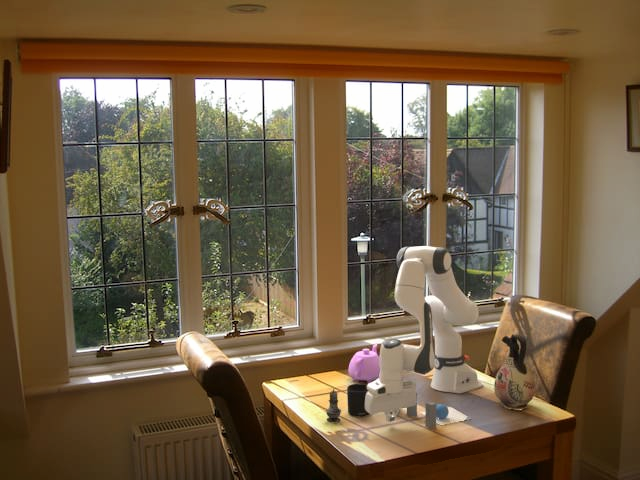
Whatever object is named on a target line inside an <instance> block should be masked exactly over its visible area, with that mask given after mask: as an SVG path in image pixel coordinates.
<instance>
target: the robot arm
mask: <svg viewBox="0 0 640 480" xmlns="http://www.w3.org/2000/svg"><path fill="white" fill-rule="evenodd" d="M452 260H453V259H452V254H451V252H450V251H449V250H448V249H447V248H444V247H441V246H438V247H436V246H430V245H429V246H428V245H422V246H421V245H420V246H404V247H402V248H400V249H399V251H398V252H397V255H396V265H397V269H398V272H397V277H396V281H395V287H394V301H395V302H396V305H397V306H398V307H399V308H400V309H402V310H403V311H405V312H407V313H408V314H410V315H411V316H413V317H415V318H416V319H417V320H418V323H419V334H420V336H419V337H420V338H419V340H420V345H413V344H406V343H403V342H402V341H401V340H400V339H398V338H388V339H385V340H384V341H382V342H381V344H380V348H379V349H380V350H379V366H380V374H379V378H378V379H376V380H372V381H373V382H371V383H369V384H366V385H367V390H368V392H367V393H366V396H365V410H366V411H367V412H368V413H370V414H369V415H373V414H379V413H384V415H385V416H386V422H387V423H391V422H396V421H397V420H396V419H397V416H398V414H399V411H400V410H399V409H405V408H406V409H407V407H412V406H415V405H416V403H417V404H418V397H417V398H416V393H417V392H416V389H417V385H416V383H415V382H413V381H412V380H411V381H409V380H408V381H404V378H405V376H404V373H403V372H404V371H406V372H413V373H416V374H419V375H422V376H423V375H424V376H425V375H426V374H429V373H431V371H433V375H432V380H431V383H430V387H431V388H432V389H433V390H436V391H440V392H445V393H455V394H463V393H467V392H470V391H473V390H477V389H480V388H483V387H484V384H483V383H482V381H480V380H479V379H478V374H477V371H476V370H475V369H474V368H472V367H471V366H470V365H469V364H467V363H466V362H468V361H470V359H471V358H470V356H468V355H464V354H462V348H463V347H462V345H463V344H462V341H463V340H462V339H463V338H462V336H461V335H460V333H459V332H458V331H456V330H455V328H454V327H453V325H456V326H457V325H458V326H472V325H474V324H475V323H476V321H478V319H479V314H480V313H479V307H478V305H477V304H476V302H474V301H473V300H472V299H469V298H468V297H467V296H466V295H465V294H464V293H463V291H462V290H461V289H460V287H459V286H458V284H457V282H456V279H455V274H454V272H453V269H452ZM426 283H427V285H428V286H427V287H428V289H429V292H430V293H431V294H432V295H426V296H425V289H426V288H425V287H426ZM465 361H466V362H465ZM391 410H393V412H390V411H391ZM398 410H399V411H398ZM390 413H391V414H390Z"/></svg>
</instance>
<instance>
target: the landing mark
mask: <svg viewBox="0 0 640 480" xmlns="http://www.w3.org/2000/svg"><path fill="white" fill-rule="evenodd" d="M447 408H448V410H449V413H448V416H447V417H446V418H444V419H438V418H437V417H436V425H437V424H438V425H439V426H440V425H442V426H446V425H445V424H447V425H451V424H450V423H451V422H452V421H453V423H452V424H455V423H454V422H456V421H457V423H460V422H459V421H462V422H465V421H464V420H465V419H466V418H467V417H468V416H467V415H466V414H464V413H462V412H460V411H459V410H456V409H455V408H453V407H452V406H447ZM425 412H426V410H424V411H419V413H420V414H421V415H422V416H424V417H425ZM450 420H451V421H450Z"/></svg>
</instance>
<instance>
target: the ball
mask: <svg viewBox="0 0 640 480" xmlns="http://www.w3.org/2000/svg"><path fill="white" fill-rule="evenodd" d="M447 407H448V406H447V405H446V404H443V403H438V404H436V417H437V418H439V419H444V418H446V417H447V416H448V413H449V410H448V408H447Z"/></svg>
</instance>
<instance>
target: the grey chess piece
mask: <svg viewBox="0 0 640 480" xmlns="http://www.w3.org/2000/svg"><path fill="white" fill-rule="evenodd" d="M328 402H329V407H328V408H326V409H325V412H326V415H327V418H326V421H327V422H328V423H339V422H341V418H340V416H341V412H342V409H340V408H339V404H338V402H339V400H338V392H337V391H336V390H335V389H332V391H330V392H329V400H328Z"/></svg>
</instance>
